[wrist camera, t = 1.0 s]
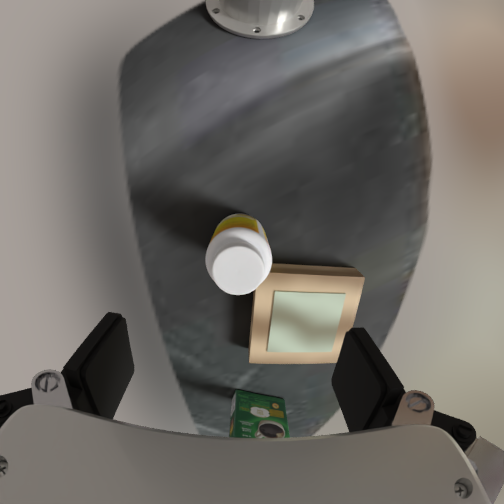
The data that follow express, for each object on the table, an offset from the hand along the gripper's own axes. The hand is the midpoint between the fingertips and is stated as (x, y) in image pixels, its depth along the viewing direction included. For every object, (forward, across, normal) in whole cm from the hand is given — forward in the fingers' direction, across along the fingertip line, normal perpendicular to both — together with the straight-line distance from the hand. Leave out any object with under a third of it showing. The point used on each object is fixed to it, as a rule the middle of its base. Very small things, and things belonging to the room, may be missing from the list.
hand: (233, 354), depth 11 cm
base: (+20, -8, +9) cm, 24 cm away
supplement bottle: (+21, 0, 0) cm, 21 cm away
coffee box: (+21, -4, +25) cm, 32 cm away
